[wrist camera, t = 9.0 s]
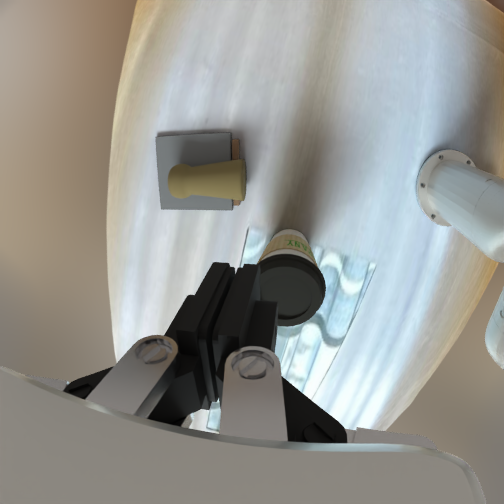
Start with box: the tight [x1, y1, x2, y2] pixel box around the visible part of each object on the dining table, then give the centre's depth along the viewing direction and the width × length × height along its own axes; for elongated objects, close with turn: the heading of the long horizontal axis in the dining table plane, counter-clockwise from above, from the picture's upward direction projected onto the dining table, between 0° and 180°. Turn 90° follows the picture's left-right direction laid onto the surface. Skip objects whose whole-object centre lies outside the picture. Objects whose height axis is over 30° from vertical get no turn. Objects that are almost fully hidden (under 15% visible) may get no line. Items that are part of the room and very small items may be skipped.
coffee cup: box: [257, 229, 326, 326], centre depth 42 cm, size 10×10×15 cm
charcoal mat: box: [156, 133, 233, 210], centre depth 46 cm, size 12×12×1 cm
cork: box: [168, 159, 246, 201], centre depth 43 cm, size 6×6×11 cm
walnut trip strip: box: [232, 139, 240, 206], centre depth 45 cm, size 1×10×1 cm, turn 2°
